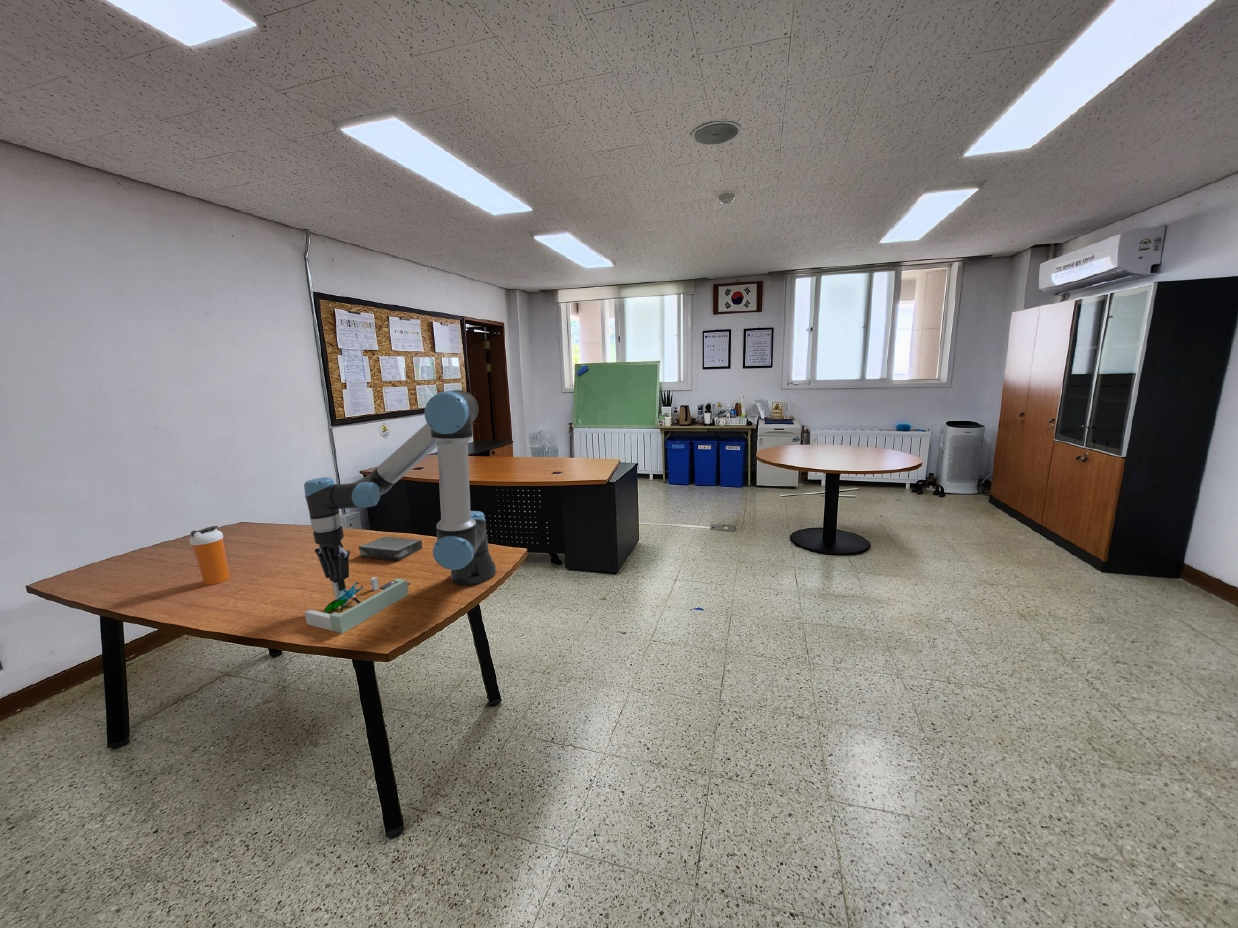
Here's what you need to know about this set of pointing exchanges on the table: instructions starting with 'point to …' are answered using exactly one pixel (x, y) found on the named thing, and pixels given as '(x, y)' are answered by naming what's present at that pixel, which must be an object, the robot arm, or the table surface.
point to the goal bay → (369, 607)
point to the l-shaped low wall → (324, 619)
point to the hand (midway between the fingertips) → (341, 598)
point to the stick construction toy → (343, 599)
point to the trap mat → (389, 585)
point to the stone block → (390, 548)
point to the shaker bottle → (210, 555)
